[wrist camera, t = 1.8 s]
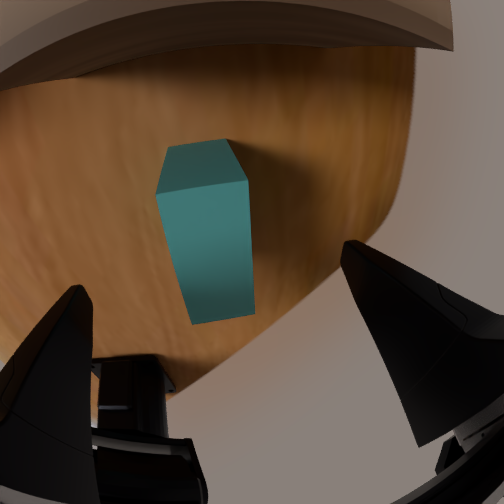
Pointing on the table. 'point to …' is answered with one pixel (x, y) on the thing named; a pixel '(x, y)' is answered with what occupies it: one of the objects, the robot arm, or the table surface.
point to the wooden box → (198, 29)
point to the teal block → (208, 229)
